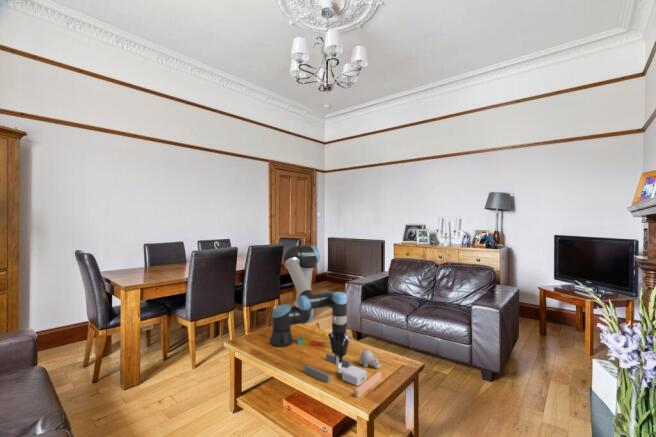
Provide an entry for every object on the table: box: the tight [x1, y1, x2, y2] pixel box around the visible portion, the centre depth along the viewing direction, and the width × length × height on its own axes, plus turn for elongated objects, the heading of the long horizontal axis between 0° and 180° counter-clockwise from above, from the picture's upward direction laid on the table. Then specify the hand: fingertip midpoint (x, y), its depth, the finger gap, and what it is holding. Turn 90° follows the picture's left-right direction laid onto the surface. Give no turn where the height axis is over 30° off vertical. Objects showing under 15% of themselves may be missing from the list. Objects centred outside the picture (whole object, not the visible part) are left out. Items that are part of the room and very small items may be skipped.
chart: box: [297, 321, 345, 349], centre depth 196 cm, size 30×3×15 cm, turn 77°
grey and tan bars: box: [303, 352, 382, 398], centre depth 159 cm, size 34×22×4 cm, turn 51°
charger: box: [336, 365, 368, 387], centre depth 157 cm, size 5×9×15 cm
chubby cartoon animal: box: [357, 349, 382, 370], centre depth 169 cm, size 7×12×8 cm, turn 56°
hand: (338, 367), depth 160 cm, fingers closed
